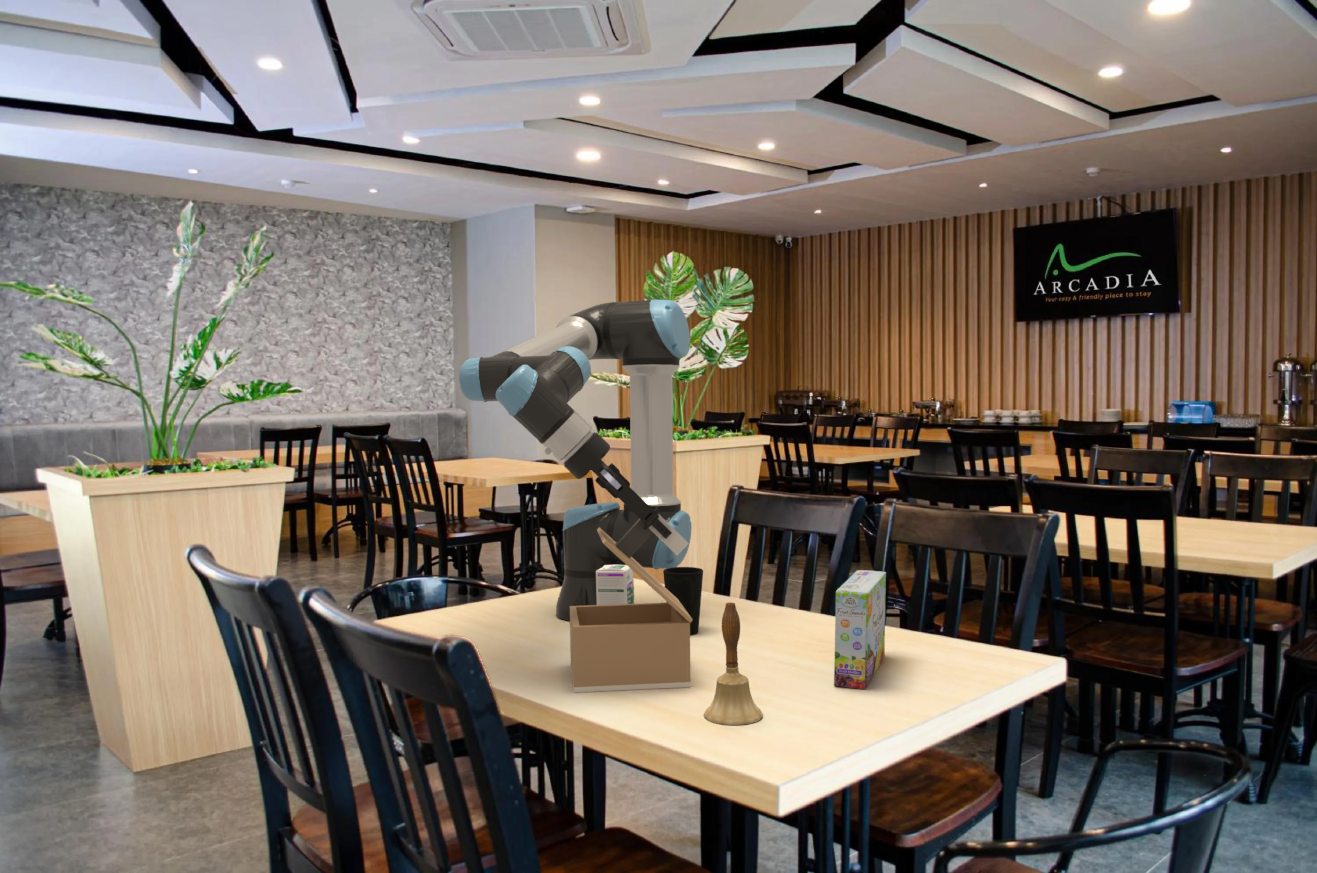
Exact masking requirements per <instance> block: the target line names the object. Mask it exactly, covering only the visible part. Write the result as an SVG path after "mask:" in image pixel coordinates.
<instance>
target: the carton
mask: <svg viewBox="0 0 1317 873" xmlns="http://www.w3.org/2000/svg"><path fill="white" fill-rule="evenodd" d="M569 639H570V640H569V642H570V643H569V646H570V650H569V651H570V670H571V679H572V685H573V687H572V688H573V693H588V692H589V693H591V692H593V693H595V692H612V691H614V692H615V691H617V692H618V691H636V690H637V691H638V690H654V689H656V690H657V689H658V690H659V689H660V690H661V689H676V688H677V689H678V688H682V689H683V688H691V686H692V684H691V635H690V622H689V621H688V620H686V619H685V618H684V617H683V616H682V615H681V614H680V613H679V612H678V611H677V610H676V609H674V608H673V607H672V606H671V605H670V604H669V603H666V602H649V603H647V602H646V603H634V604H615V605H587V606H570V621H569Z"/></svg>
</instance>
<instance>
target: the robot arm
mask: <svg viewBox="0 0 1317 873" xmlns="http://www.w3.org/2000/svg"><path fill="white" fill-rule="evenodd" d="M690 346H691V336H690V329H689V323H688V320H687V317H686V315H685V313H684V311H683V309H682V307H681V306H680V305H679V304H678V303H677V302H676V301H674V300H671V299H670V300H669V299H644V300H643V299H642V300H634V301H633V300H632V301H619V302H617V301H616V302H614V301H610V302H604V303H601V304H597V305H596V304H595V305H594V306H590V307H587V308H586V309H582V310H581V311H578V312H576V313H573V314H571V315H569V316H567V317H565V318H563V319H561V320H560V321H559V322H558V323H557V325H556V327H555V328H553V329H550V330H548V331H546V332H544V333H541V334H539V335H538V336H537V335H536V336H535V337H533V338H530V339H528V340H526V341H524V342H521V343H519V344H518V345H515V346H513V347H511V348H508V349H507V350H504V351H502V352H499V353H497V354H494V355H493V356H489V357H483V356H478V357H473V358H469V359H466V360H465V361H464V362H463V363H462V364H461V366H460V369H459V375H458V381H459V388H460V391H461V393H462V394H463V397H465V398H466V399H467V400H470V401H472V402H473V401H474V402H484V403H487V402H498V403H500V404H501V405H502V407H503V408H504V409H505V411H507V412H508V415H509V416H510V417H513V419H515V420H516V421H517V422H518V423H519V424H521V426H522V427H523V428H524V429H525V430H526V431H528V432H529V433H530V434H531V435H532V436H533V437H534V438H535V439H536V440H537V441H538V442H539V443H540V444H541V445H542V446H543V447H545V449H544V453H545V455H547V456H548V455H551V453H552V455H553V457H554V458H555V459H556V460H558V461H564V463H563V466H564V468H565V469H566V470H567V471H568V472H570V473H571V474H572V475H573V477H574V478H575V479H577V480H580V479H582V478H584V477H586V476H587V474H588V473H589V472H590V471H592V472H593V473H594V475H596V476H597V477H596V479H595V480H594V481H595V482H596V484H598V486H600V488H602V489H605V490H606V491H607V492H608V493H609V494H610V495H611V496H612V497H613V498H614V499H619V500H621V502H623V509H621V506H620V504H619V502H617V501H609V502H608V501H607V502H599V503H592V504H585V505H579V506H574V507H571V508H568V509H567V510H566V511H565V512H564V514H563V525H562V526H563V527H562V532H563V533H562V534H563V536H562V537H563V564H564V565H563V570H564V573H563V574H564V575H563V578H564V579H563V581H562V584H561V588H560V591H559V595H558V598H557V602H556V605H555V606H556V607H555V611H556V612H555V613H556V617H557V618H559V619H561V620H564V621H569V622H570V606H587V605H597V595H596V571H597V570H599V569H600V568H602V567H603V566H604V565H617V564H620V565H626V564H625V563H624V562H623V561H622V560H621V559H620V558H619V557H617V556H616V555H615V554H614V553H613V552H612V551H611V550H610V549H609V548H608V547H606V546H605V545H604V544H603V542H602V540H601V538H600V536H599V533H598V531H597V529H598V528H599V527H600V528H601V529H602V530H603V531H604V532H605V533H606V534H607V535H608V536H609V537H611V538H612V539H613V540H614V541H615V542H616V543H617V542H618V541H619V540H620V539H621V538H622V537H623V536H624V535H625V534H626V532H627V531H628V530H629V529H630V528H631V527H632V526H633V525H634V524H635V523H636V522H637V521H638V519H639V518H640V519H641V520H642V521H643V523H644V524H645V526H644V527H643V528H644V529H645V530H647V529H648V528H649V529H650V530H651V531H652V532H653V534H652V535H651V536H650V537H649V538H648V539H647V540H646V541H645V542H644V544H643V545H642V546H641V547H640V548H639V549H638V550H637V551H636V552H635V553H634V554H633V556H632V558H633V559H635V560H636V561H637V562H638V563H639V564H640V565H641V566H642V567H643V568H644V569H654V570H661V569H663V570H665V569H667V568H673V567H679V566H680V565H681V564H682V562H683V561H684V559H685V557H686V555H687V553H688V550H689V547H690V543H691V537H692V530H693V529H692V526H693V525H692V521H691V516H690V514H689V513H688V512H686V511H684V510H682V508H681V506H682V502H681V500H680V499H679V498H678V497H677V496H676V494H675V493H674V440H673V439H674V435H673V434H674V433H673V431H674V430H673V429H674V428H673V427H674V426H673V425H674V422H673V420H674V419H673V418H674V417H673V415H674V414H673V376H674V373H675V372H677V371H678V369H680V366H681V365H680V359H683V358H685V357H686V356H688V354H689V351H690V349H689V348H690ZM590 360H591V361H592V360H621V361H622V362H621V363H622V364H621V369H623V370H624V371H625V372H626V374H628V376H629V404H630V405H629V409H630V410H629V411H630V412H629V414H630V415H629V420H630V422H629V423H630V424H629V426H630V427H629V428H630V434H629V435H630V436H629V437H630V481H629V480H628V479H627V478H626V477H625V476H624V475H623V474H621V471H620V469H619V468H618V467H617V466H616V465H615V464H614V463H612V462H611V463H610V464H609V465H607V464H606V463H605V461H604V460H602V459H603V458H604V457H605V456H606V455H607V454H608V452H609V451H610V449H611V445H610V444H609V443H608V442H607V441H606V440H605V439H604V438H603V437H602V436H601V435H600V434H599V433H598V432H595V431H594V432H592V430H593V427H592V426H591V424H589V422H588V421H586V419H585V418H583V416H582V415H581V414H579V413H578V411H576V410H574V408H572V406H570V405H569V404H568V402H570V401H571V400H572V399H573V397H575V396H576V395H577V394H578V393H579V392H581V391H582V390H583V388H584V385H585V384H586V383H588V382H587V381H588V380H589V379H590V377H591V373H592V372H591V371H592V367H591V363H590Z"/></svg>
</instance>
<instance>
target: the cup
mask: <svg viewBox="0 0 1317 873" xmlns="http://www.w3.org/2000/svg"><path fill="white" fill-rule="evenodd" d="M703 578H704V569H702V568H699V567H695V566H694V567H691V566H677V567H673V568H667V569H663V581H664V587H665V588H666V589H667V590H668V591H670V592H671V593H672V594H673V595H674V596H675V597H676V598H677V599H678V600H679V601H680V603H681V604H682V605H683V607H684V608H685V610H686V611H687V612H688V614H689V615H690V617H691V618H692V620H693V621H692V622H691V623H690V636H695V635H697V634H699V631H700V630H699V629H700V628H699V627H700V615H701V605H702V604H701V603H702V592H703V591H702V590H703V580H704V579H703ZM665 603H668V602H667V601H666V600H665Z"/></svg>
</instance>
